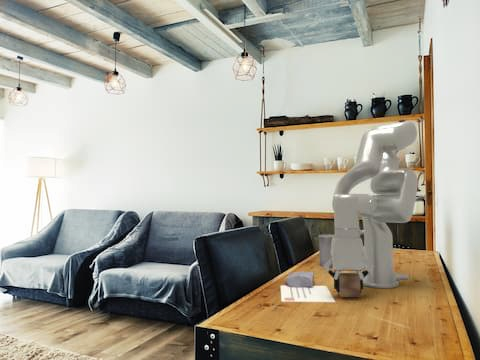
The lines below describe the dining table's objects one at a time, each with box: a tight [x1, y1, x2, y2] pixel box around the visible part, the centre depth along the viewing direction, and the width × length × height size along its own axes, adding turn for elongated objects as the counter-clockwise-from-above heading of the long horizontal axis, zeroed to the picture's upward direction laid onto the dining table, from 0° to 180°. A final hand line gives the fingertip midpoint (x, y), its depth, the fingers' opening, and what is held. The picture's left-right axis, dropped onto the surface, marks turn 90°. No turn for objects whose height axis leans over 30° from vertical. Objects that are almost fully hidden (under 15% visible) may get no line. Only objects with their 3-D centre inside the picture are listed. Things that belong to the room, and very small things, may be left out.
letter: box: [280, 284, 336, 303], centre depth 122 cm, size 16×20×1 cm
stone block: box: [285, 270, 315, 287], centre depth 135 cm, size 12×5×10 cm
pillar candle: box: [318, 232, 335, 268], centre depth 169 cm, size 10×10×15 cm
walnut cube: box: [338, 272, 362, 298], centre depth 117 cm, size 6×6×6 cm
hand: (348, 291), depth 117 cm, fingers closed on walnut cube, 5 cm apart
